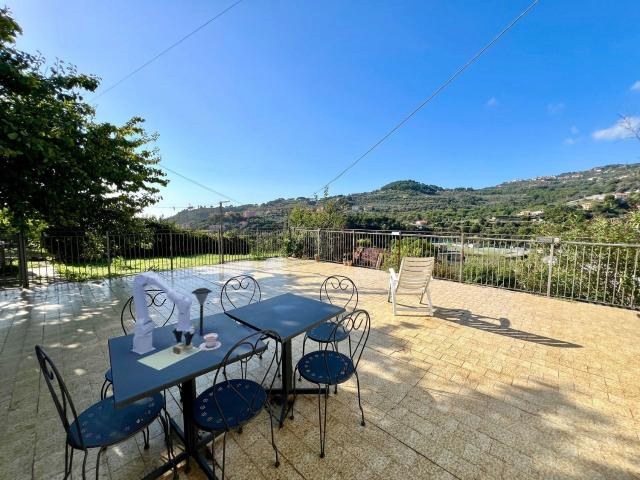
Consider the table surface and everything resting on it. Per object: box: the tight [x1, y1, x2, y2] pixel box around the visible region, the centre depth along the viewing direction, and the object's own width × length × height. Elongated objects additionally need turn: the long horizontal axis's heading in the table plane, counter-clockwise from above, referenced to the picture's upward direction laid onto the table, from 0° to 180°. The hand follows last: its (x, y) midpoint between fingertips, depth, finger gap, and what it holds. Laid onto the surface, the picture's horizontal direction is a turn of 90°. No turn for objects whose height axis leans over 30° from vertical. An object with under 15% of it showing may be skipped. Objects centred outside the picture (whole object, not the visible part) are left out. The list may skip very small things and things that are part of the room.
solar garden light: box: [191, 287, 213, 337], centre depth 169 cm, size 12×12×30 cm
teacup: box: [198, 332, 222, 352], centre depth 155 cm, size 12×12×6 cm
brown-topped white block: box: [173, 341, 194, 355], centre depth 147 cm, size 9×4×3 cm, turn 154°
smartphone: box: [191, 322, 200, 330], centre depth 182 cm, size 7×1×15 cm
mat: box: [137, 342, 203, 371], centre depth 142 cm, size 18×25×1 cm
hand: (183, 343), depth 147 cm, fingers open, 7 cm apart
